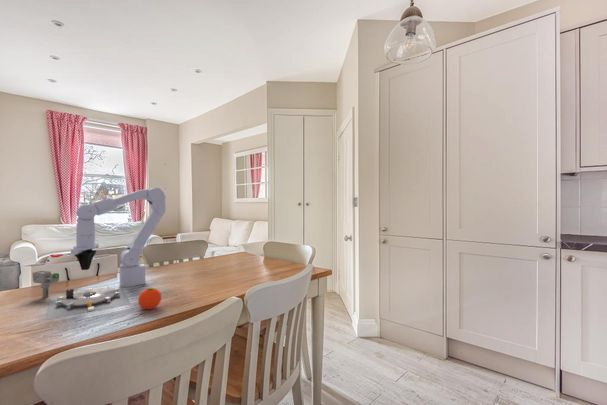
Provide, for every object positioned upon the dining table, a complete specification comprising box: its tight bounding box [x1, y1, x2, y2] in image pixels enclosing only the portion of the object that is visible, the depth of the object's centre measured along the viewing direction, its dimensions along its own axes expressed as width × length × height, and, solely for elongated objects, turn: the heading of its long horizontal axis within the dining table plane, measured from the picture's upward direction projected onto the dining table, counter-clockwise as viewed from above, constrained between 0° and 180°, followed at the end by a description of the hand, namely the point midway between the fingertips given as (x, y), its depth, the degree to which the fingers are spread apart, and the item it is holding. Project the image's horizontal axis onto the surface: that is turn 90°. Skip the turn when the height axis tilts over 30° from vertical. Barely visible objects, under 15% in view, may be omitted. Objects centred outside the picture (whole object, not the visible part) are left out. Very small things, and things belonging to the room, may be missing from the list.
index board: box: [44, 286, 131, 321], centre depth 100 cm, size 22×24×2 cm
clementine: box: [137, 287, 162, 310], centre depth 96 cm, size 8×7×7 cm
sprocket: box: [56, 286, 120, 309], centre depth 101 cm, size 18×19×4 cm
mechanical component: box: [32, 270, 60, 298], centre depth 103 cm, size 3×10×10 cm, turn 79°
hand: (85, 269), depth 110 cm, fingers closed
